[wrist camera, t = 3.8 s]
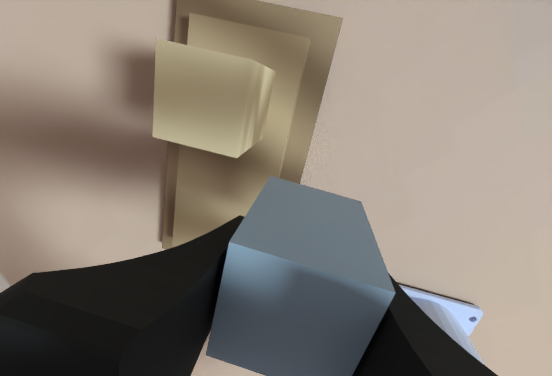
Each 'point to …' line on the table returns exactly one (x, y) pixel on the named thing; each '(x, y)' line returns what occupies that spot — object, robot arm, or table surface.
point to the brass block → (209, 98)
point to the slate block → (300, 285)
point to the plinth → (280, 118)
